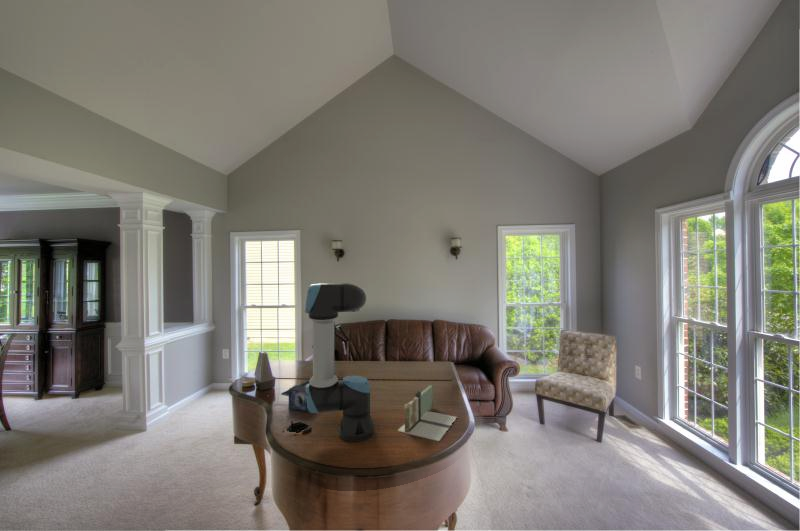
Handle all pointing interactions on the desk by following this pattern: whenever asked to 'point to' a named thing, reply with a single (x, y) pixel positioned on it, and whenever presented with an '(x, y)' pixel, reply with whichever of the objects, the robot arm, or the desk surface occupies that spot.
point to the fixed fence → (412, 412)
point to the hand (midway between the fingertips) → (333, 356)
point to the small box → (298, 398)
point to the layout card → (431, 426)
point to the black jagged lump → (298, 427)
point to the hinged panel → (426, 400)
